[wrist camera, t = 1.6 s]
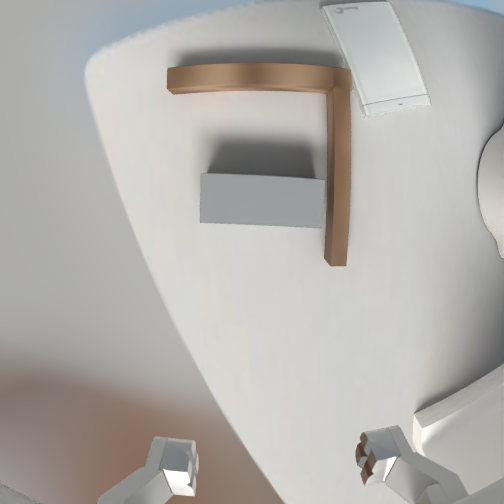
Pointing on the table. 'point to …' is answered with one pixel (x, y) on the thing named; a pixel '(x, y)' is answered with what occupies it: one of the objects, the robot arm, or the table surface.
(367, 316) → the table surface
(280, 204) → the block
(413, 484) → the robot arm
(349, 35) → the hard drive
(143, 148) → the table surface
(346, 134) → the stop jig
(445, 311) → the table surface
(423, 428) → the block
